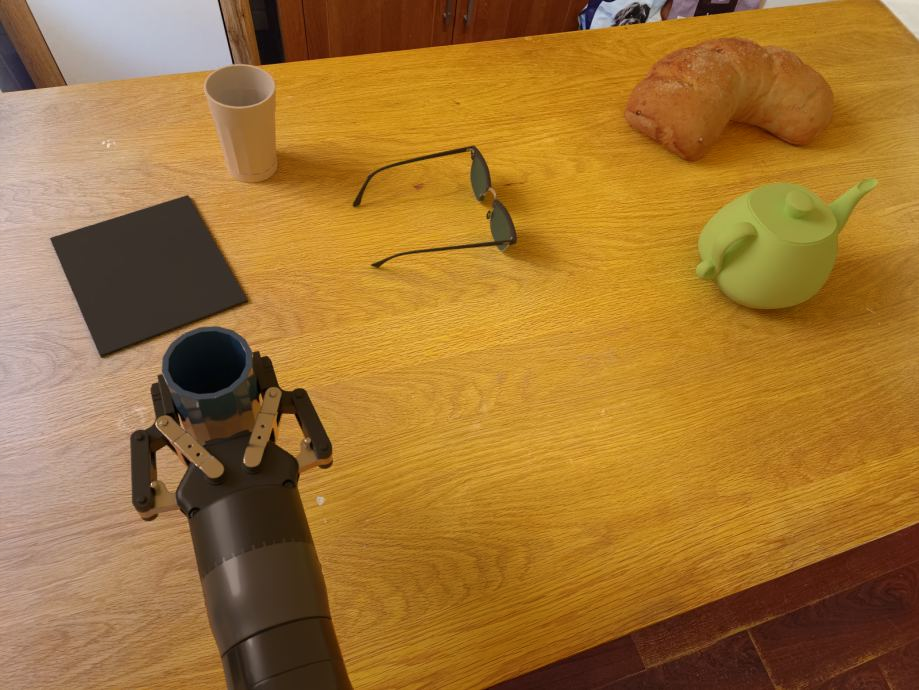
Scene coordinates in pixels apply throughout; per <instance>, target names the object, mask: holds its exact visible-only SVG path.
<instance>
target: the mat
mask: <svg viewBox="0 0 919 690" xmlns="http://www.w3.org/2000/svg"><path fill="white" fill-rule="evenodd" d="M210 232H211V231H209V229H208V227H207V225H206V224H205V222H204V220H203V218H202V217H201V215H200V213H199V211H198V209H197V208H196V206H195V205H194V202H193V201H192V199H191V197H190V195H189V194H185V195H183V196H180V197H176V198H173V199H171V200H170V199H169V200H167V201H164V202H160V203H158V204H154V205H151V206H148V207H144V208H141V209H138V210H135V211H132V212H129V213H126V214H122V215H119V216H116V217H113V218H110V219H107V220H102V221H100V222H97V223H93V224H90V225H87V226H83V227H81V228H77V229H74V230H71V231H67V232H64V233H61V234H58V235H55V236H50V238H49V240H50V242H51V244H52V247H53V249H54V251H55V254H56V257H57V258H58V261H59V263H60V266H61V268H62V270H63V272H64V275H65V277H66V280H67V282H68V284H69V287H70V289H71V291H72V293H73V296H74V298H75V301H76V303H77V305H78V309H79V310H80V312H81V315H82V317H83V320H84V322H85V324H86V327H87V329H88V331H89V334H90V336H91V339H92V340H93V343H94V346H95V348H96V350H97V352H98V355H99V357H100V358H103V357H107V356H110V355H111V354H112V355H113V354H114V353H117V352H119V351H122V350H125V349H128V348H131V347H132V346H136V345H138V344H140V343H143V342H145V341H146V342H147V341H148V340H151V339H154V338H156V337H159V336H162V335H164V334H166V333H170V332H172V331H175V330H177V329H180V328H182V327H186V326H188V325H191V324H193V323H196V322H199V321H201V320H203V319H206V318H209V317H211V316H215V315H217V314H220V313H222V312H225V311H227V310H230V309H232V308H233V309H234V308H236V307H238V306H240V305H243V304H244V305H245V304H246V303H248V302H249V300H248V298H247V296H246V294H245V293H244V291H243V289H242V287H241V285H240V283H239V282H238V280H237V278H236V276H235V275H234V273H233V271H232V269H231V268H230V266H229V264H228V263H227V261H226V259H225V257H224V256H223V254H222V252H221V250H220V249H219V246H218V245H217V243H216V241H215V239H214V238H213V236H212V234H211V233H210Z"/></svg>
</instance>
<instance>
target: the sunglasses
mask: <svg viewBox="0 0 919 690" xmlns="http://www.w3.org/2000/svg"><path fill="white" fill-rule="evenodd" d="M468 152H470V159H471V166H470V170H469V171H470V173H469V177H470V178H469V181H470V186H471V190H472V192H473V196H474V198H475V200H476V202H477V203H482V202H484V200H485V198H486V196H487V193H488V192H491V193H492V194H493V200H492V203H491V207H492V211H491V210H487V213H486V215H485V218H486V219H487V220H489V230H490V234H491V238H492V239H493V241H485V242H477V243H469V244H468V243H467V244H459V245H458V244H457V245H450V246H440V247H433V248H432V247H431V248H425V249H423V248H422V249H416V250H410V251H404V252H399V253H396V254H393V255H390V256H388V257H386V258H383V259H380V260H379V261H376V262H373V263H371V264H370V266H371V267H375V268H380V267H381V266H383V265H384V264H385V263H387V262H388V261H390V260H392V259H395V258H397V257H403V256H406V255H415V254H421V253H433V252H434V253H435V252H444V251H453V250H463V249H465V250H466V249H477V248H485V247H496V248H497V250H499V252H505V251H506V250H507V249H508V248H509V247H511V246H514V245H515V244H516V243H517V242H518V235H517V232H516V231H517V230H516V227H515V225H514V224H515V223H514V221H513V219H512V216H511V214H510V212H509V211H508V209H507V207H506V206H505V205H504V204H503V202H502V201H500V200H499V199H498V198H496V197H497V193H496V190H495V189H494V188H492V187H493V186H492V178H491V173H490V168H489V165H488V163H487V161H486V159H485V157H484V156H483V154H482V153H481V151H480V150H479V148H478V147H477V146H476V145H468V146H464V147H459V148H455V149H450V150H449V149H448V150H445V151H444V150H443V151H440V152H434V153H430V154H427V155H423V156H418V157H413V158H409V159H406V160H401V161H397V162H394V163H391V164H388V165H385V166H381V167H380V168H378V169H376V170H374V171H372V172H371V173H370V174H369V175H368V176H367V178H366V179H365V181H364V183H363V184H362V186H361V188H360V189H359V191H358V193H357V195H356V197H355V198H354V200H353V202H352V207H353V208H357V207H359V206H360V205H361V204H362V199H363V196H364V193H365V191H366V189H367V186H368V185H369V183H370V182H371V180H372V179H373V177H374V176H375V175H377V174H378V173H380V172H382V171H385V170H388V169H391V168H395V167H399V166H403V165H408V164H411V163H416V162H421V161H426V160H430V159H431V160H432V159H436V158H441V157H446V156H451V155H457V154H463V153H468Z"/></svg>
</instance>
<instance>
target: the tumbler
mask: <svg viewBox="0 0 919 690" xmlns="http://www.w3.org/2000/svg"><path fill="white" fill-rule="evenodd" d="M252 352H253V350H252V349H251V347H250V345H249V343H248V341H247V339H246V338H244V337H243V336H242V335H241V334H239V333H238V332H236V331H235V330H233V329H230V328H225V327H223V326H218V325H215V326H214V325H213V326H212V325H211V326H200V327H197V328H194V329H192V330H189V331H185V332H184V333H182V334H181V335H180V336H178V337H177V338H176V339H174V340H173V341H172V342H171V343H170V344H169V345H168V347H167V349H166V351H165V352H164V354H163V356H162V361H161V374H162V375H163V377H164V380H165V382H166V385H167V387H168V390H169V392H170V395H171V397H172V399H173V402H174V404H175V407H176V409H177V412H178V415H179V420H180V423H181V424H182V426H183V427H182V428H183V429H184V430H185V431H186V432H189V433H190V434H191V435H192V436H193V437H194V438H195V439H196V440H197V441H198V442H199V443H200V444H201V445H202V446H203V445H205V441H208V440H212V439H215V438H228V437H230V436H232V435H234V434H236V433H238V432H241V431H244V430H248V429H249V432H252V430H253V427H254V424H255V420H256V417H257V414H258V412H260V409H261V405H262V402H263V400H262V397H261V393H260V389H259V384H258V379H257V373H256V368H255V363H254V358H253V354H252Z"/></svg>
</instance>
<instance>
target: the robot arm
mask: <svg viewBox="0 0 919 690" xmlns="http://www.w3.org/2000/svg"><path fill="white" fill-rule="evenodd" d="M252 354H253V358H254V363H255V368H256V373H257V379H258V384H259V389H260V393H261V397H262V405H261V409H260V412H258V414H257V417H256V420H255V424H254V427H253V430H252V432H249V429H248V430H244V431H241V432H238V433H236V434H234V435H232V436H230V437H228V438H215V439H212V440H208V441H205V445H203V446H202V445H201V444H200V443H199V442H198V441H197V440H196V439H195V438H194V437H193V436H192V435H191V434H190V433H189V432H186V431H185V429H184V427H182V425H181V419H180V417H179V414H178V412H177V409H176V407H175V404H174V402H173V399H172V397H171V395H170V392H169V390H168V387H167V385H166V382H165V380H164V377H163V375H162V373H161V374H157V382H154V383H151V386H150V396H151V400H152V407H153V411H154V415H155V419H154V422H153V424H152V425H150V426H149V427H147V428H145V429H136V430H134V431H133V432H132V433H131V435H130V437H129V446H130V448H129V449H130V477H131V478H130V479H131V480H130V482H131V504H132V507H134V509H135V511H136V512H137V514H138V515H139V516H140V518H141V519H142V520H143V521H144V522H152V521H154V520H156V519H157V518H158V517H159V514H162V513H169V512H174V511H180V512H181V513H182V514H183V515H184V516H185V517H186V519H187V522H188V527H189V532H190V538H191V541H192V542H191V543H192V547H193V553H194V556H195V561H196V566H197V571H198V577H199V581H200V585H201V590H202V594H203V600H204V601H203V602H204V606H205V610H206V614H207V620H208V623H209V627H210V629H211V633H212V634H211V635H212V636H213V638H214V641H215V644H216V647H217V650H218V654H219V657H220V660H221V666H222V670H223V674H224V679H225V684H226V690H355V688H354V686H353V684H352V681H351V679H350V677H349V673H348V670H347V666H346V663H345V659H344V655H343V653H342V648H341V646H340V643H339V637H338V635H337V632H336V629H335V625H334V622H333V618H332V613H331V609H330V602H329V601H330V600H329V594H328V588H327V583H326V580H325V576H324V573H323V568H322V564H321V560H320V559H319V556H318V552H317V548H316V546H315V543H314V538H313V535H312V532H311V528H310V524H309V521H308V518H307V515H306V511H305V508H304V504H303V500H302V497H301V493H300V490H299V485H298V484H299V480H300V477H301V474H302V473H304V472H307V471H309V470H311V469H314V468H317V467H318V468H320V469H322V470H327V469H330V468H331V467H332V466H333V463H334V454H333V444H332V442H331V439H330V438H329V435H328V434H327V431H326V430H325V427H324V425H323V423H322V421H321V419H320V416H319V415H318V412H317V410H316V408H315V405H314V404H313V402H312V399H311V397H310V396H309V393H308V391H307V390H306V389H305V388H303V387H296V388H295V389H294V388H293V390H285V389H283V388H281V386H280V385H279V381H278V378H277V374H276V371H275V367H274V364H273V361H272V359H271V358H270V357H269V356H268V355H263V356H261V352H260V350H256V351H252ZM283 415H294V417H295V419H296V421H297V424H298V426H299V428H300V430H301V432H302V435H303V437H304V438H303V439H301V441H300V443H299V449H300V452H299V454H298V455H296V456H294V455H293V454H292V453H290V452H288V451H287V450H286V449H284V448H282V446H279V444H278V439H279V434H280V433H279V431H280V427H281V423H282V419H283ZM164 447H167V448H168V449H169V450H170V451H171V452H172V453H173V455H175V456H176V457H177V458H178V459H179V461H180V462H181V463H182V464H183V466H185V467H186V470H185V472H184V474H183V476H182V478H181V480H180V482H179V484H178V486H177V487H176V489H175V492H171V491H169V490H168V488H167V486H166V484H165V483H164V481H162V480H158V465H157V464H158V463H157V452H158V451H160V450H161V449H163V448H164Z"/></svg>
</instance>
